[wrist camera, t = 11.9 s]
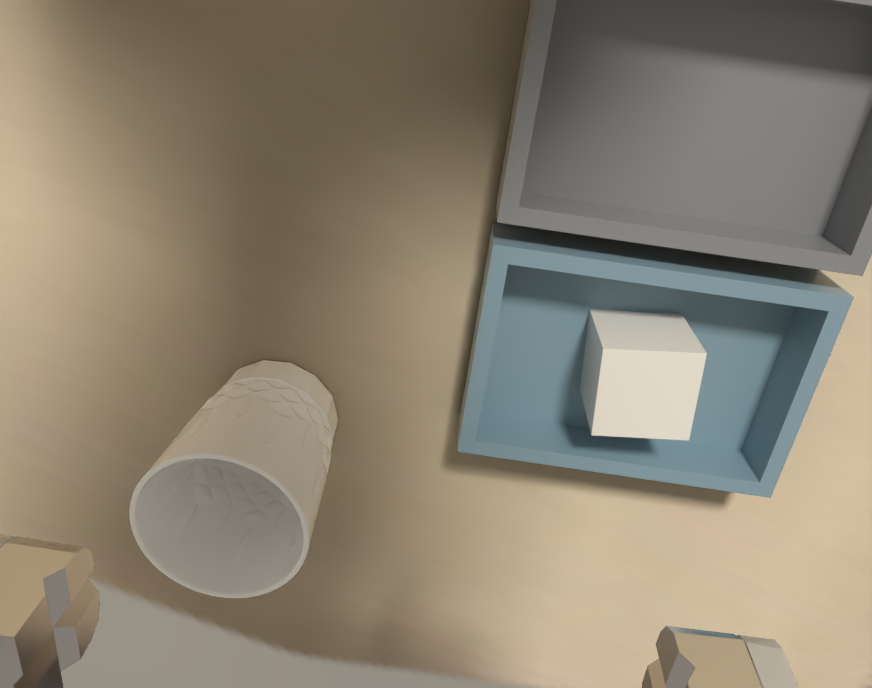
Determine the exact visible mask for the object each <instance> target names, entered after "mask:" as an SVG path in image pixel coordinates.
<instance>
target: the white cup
mask: <svg viewBox="0 0 872 688" xmlns="http://www.w3.org/2000/svg"><path fill="white" fill-rule="evenodd" d="M337 424H338V416H337V412H336V408H335V404H334V400H333V396H332V395H331V394H330V392H329V391H328V390H327V389H326V388H325V386H324V385H323V384H322V383H321V382H320V380H319V379H318V378H317V377H316V376H315V375H313V374H311V373H310V372H308V371H306V370H304V369H302V368H300V367H298V366H296V365H294V364H292V363H289V362H278V361H267V360H262V361H259V362H256V363H253V364H250V365H247V366H245V367H242V368H239V369H238V370H237V371H236V372H235V373H234V374H233V375H232V376H231V377H230V378H229V379H228V380H227V382H226V383H225V384H224V385H223V386H222V387H221V388H220V389H219V391H218V392H217V393H216V394H215V395H214V396H212V397H210V398H209V399H208V400H207V402H206V403H205V404H204V405H203V406H202V407H201V408H200V409H199V410H198V411H197V412H196V414H195V415H194V416H193V417H192V418H191V420H190V421H189V422H188V423H187V424H186V426H185V427H184V428H183V429H182V430H181V432H180V433H179V434H178V435H177V436H176V438H175V439H174V440H173V441H172V442H171V444H170V445H169V446H168V447H167V449H166V450H165V451H164V452H163V453H162V455H161V456H160V457H159V458H158V459H157V461H156V462H155V463H154V464H153V465H152V467H151V468H150V469H149V470H148V471H147V473H146V474H145V475H144V476H143V477H142V479H141V480H140V481H139V483H138V484H137V486H136V488H135V490H134V492H133V494H132V497H131V501H130V507H129V519H130V525H131V529H132V532H133V535H134V538H135V540H136V542H137V544H138V546H139V547H140V549H141V551H142V552H143V553H144V555H145V556H146V557H147V559H148V560H149V561H150V562H151V563H152V564H153V565H154V566H155V567H156V568H157V569H158V570H159V571H161V572H162V573H163V574H164V575H166V576H167V577H169V578H170V579H172V580H173V581H175V582H177V583H178V584H180V585H182V586H184V587H186V588H189V589H191V590H194V591H196V592H199V593H202V594H206V595H210V596H215V597H222V598H249V597H255V596H259V595H263V594H266V593H269V592H271V591H274V590H276V589H278V588H279V587H281V586H283V585H284V584H286V583H287V582H288V581H289V580H291V579H292V578H293V577H294V576H295V575H296V573H297V572H298V571H299V570H300V568H301V567H302V565H303V563H304V561H305V558H306V556H307V552H308V548H309V544H310V541H311V537H312V533H313V529H314V525H315V521H316V517H317V514H318V510H319V506H320V502H321V498H322V494H323V490H324V486H325V483H326V479H327V475H328V470H329V464H330V460H331V448H332V443H333V438H334V435H335V431H336V428H337Z"/></svg>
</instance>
